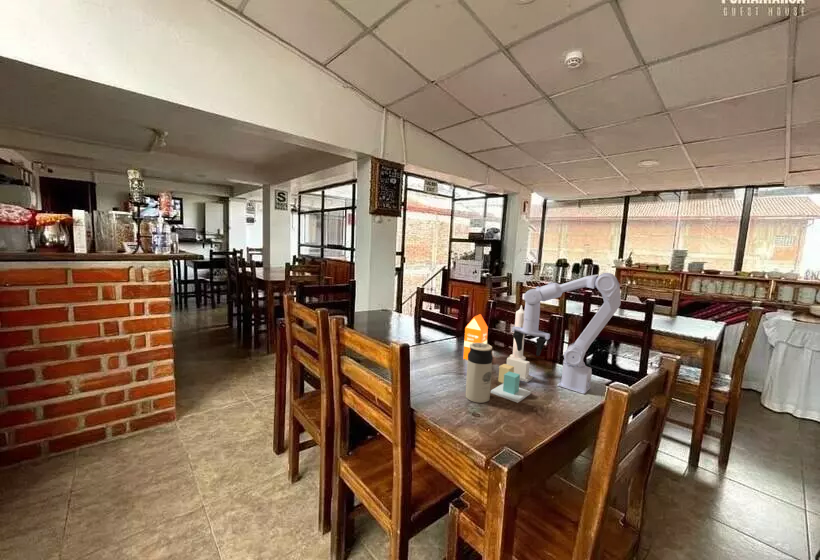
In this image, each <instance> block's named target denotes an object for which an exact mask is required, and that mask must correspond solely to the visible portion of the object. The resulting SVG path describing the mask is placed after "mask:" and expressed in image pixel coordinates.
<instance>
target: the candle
mask: <svg viewBox="0 0 820 560" xmlns="http://www.w3.org/2000/svg"><path fill="white" fill-rule="evenodd" d="M514 318H515V319H514V326H516V327H522V328H523V322H524V309H523V305H522V304H521V305H520V307H519V309H518V310H516V311H515V317H514ZM525 335H526V334H524V335H523V340H522V349H521V351H518V349H517V344H516V341H515V338H514V337H513V342H512V343H513V344H512V345H513V347H512V354H509V357H514V358H518V359H521V360H525V361H526V359H527V358H526V356H524V345H525Z"/></svg>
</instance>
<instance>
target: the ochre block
mask: <svg viewBox="0 0 820 560" xmlns="http://www.w3.org/2000/svg"><path fill="white" fill-rule="evenodd" d="M509 371H510V372H513V373H514V366H510V365H507V363H503V364H501V365H499V367H498V379H497V380H498V381H497V382H499V383H501V384H503V383H504V374H506V373H507V372H509Z"/></svg>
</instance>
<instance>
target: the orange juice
mask: <svg viewBox="0 0 820 560" xmlns="http://www.w3.org/2000/svg"><path fill="white" fill-rule="evenodd" d="M488 329H489V326H488V325H487V323H486V321H485V320H484V318H483V316H482V314H481V313H480V314H478V315H477V314H476V315H475V316H473V318H472V319H471V320H470V321H469V323H467V325H466V326H465V328H464V340H463V341H464V342H463V357H462V358H463V360H464V359H466V360H465V361H468V353H469V352H470V347H469V345H470V344H471V343H485V344H488V331H489V330H488Z"/></svg>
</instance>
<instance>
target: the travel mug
mask: <svg viewBox="0 0 820 560" xmlns="http://www.w3.org/2000/svg"><path fill="white" fill-rule="evenodd" d="M469 347H470V352H469V353H468V360H467V365H466V379H465V380H466V381H465V382H466V383H465V398H466V399H467V400H469V401H471V402H473V403H477V404H479V403H481V404H482V403H487V402H489V401H490V398H491V397H490V396H491V383H492V370H493V369H492V367H493V355H492V353H491V352H492V350H493V346H492V345H490V344H489V343H487V344H485V343H471V344H470V345H469Z"/></svg>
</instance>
